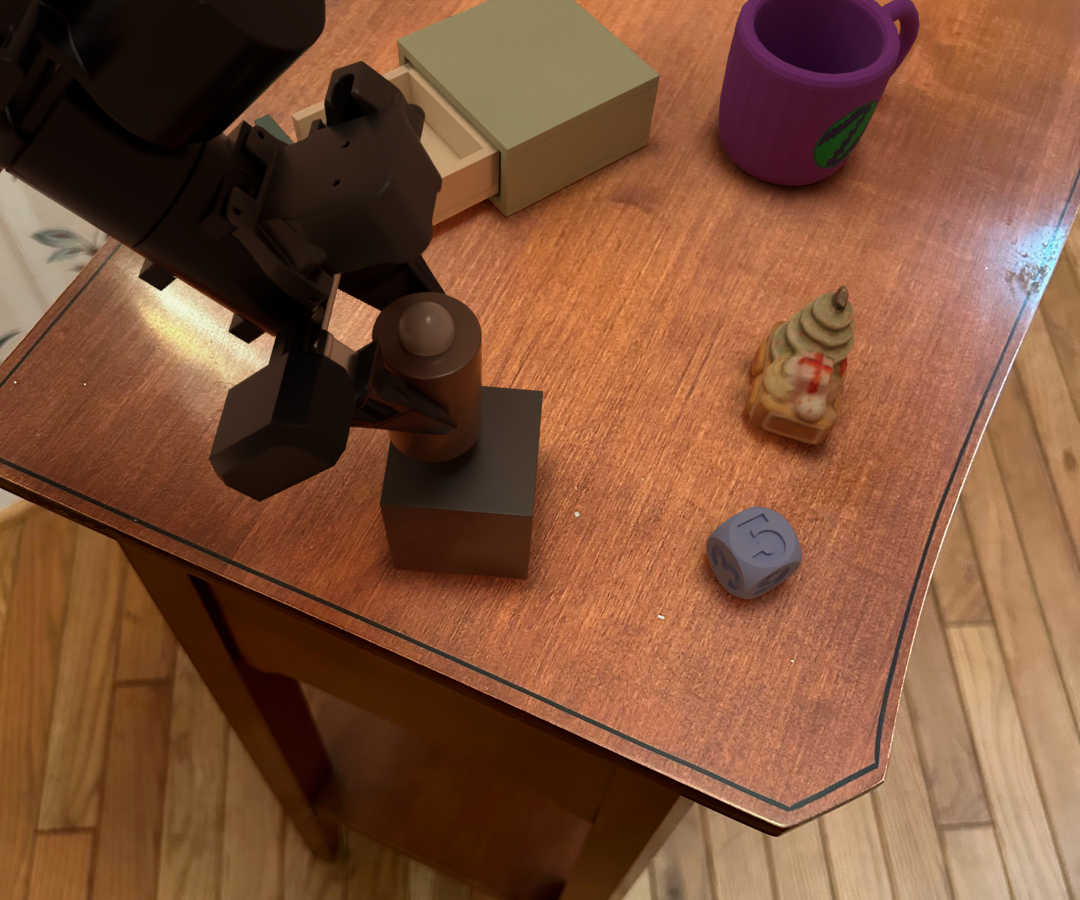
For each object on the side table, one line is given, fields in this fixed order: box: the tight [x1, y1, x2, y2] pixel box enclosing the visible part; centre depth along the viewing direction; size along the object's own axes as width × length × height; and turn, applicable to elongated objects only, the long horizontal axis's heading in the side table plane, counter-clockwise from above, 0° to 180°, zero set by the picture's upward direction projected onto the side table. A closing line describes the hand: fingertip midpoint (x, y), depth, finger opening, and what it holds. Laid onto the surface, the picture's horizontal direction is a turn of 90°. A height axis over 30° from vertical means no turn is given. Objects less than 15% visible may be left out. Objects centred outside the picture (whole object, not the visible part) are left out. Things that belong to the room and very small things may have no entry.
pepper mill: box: [371, 292, 483, 462], centre depth 45 cm, size 5×5×9 cm
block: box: [378, 385, 544, 580], centre depth 54 cm, size 8×8×8 cm
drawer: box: [253, 62, 499, 226], centre depth 66 cm, size 16×12×4 cm
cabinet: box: [396, 0, 661, 218], centre depth 71 cm, size 14×14×6 cm
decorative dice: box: [705, 505, 803, 600], centre depth 55 cm, size 4×4×4 cm
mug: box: [718, 0, 921, 187], centre depth 70 cm, size 17×11×10 cm, turn 124°
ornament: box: [745, 285, 856, 446], centre depth 58 cm, size 8×6×10 cm
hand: (458, 384), depth 46 cm, fingers closed on pepper mill, 5 cm apart
